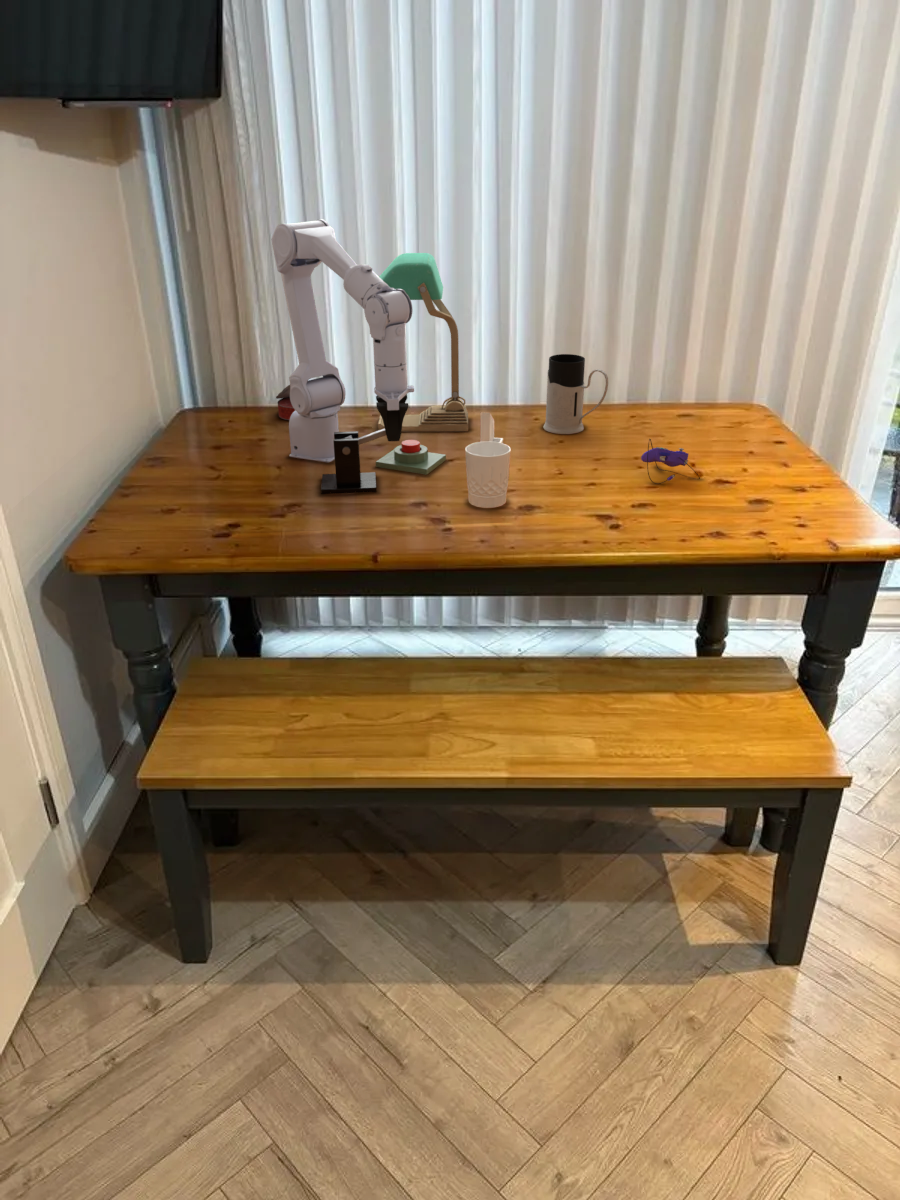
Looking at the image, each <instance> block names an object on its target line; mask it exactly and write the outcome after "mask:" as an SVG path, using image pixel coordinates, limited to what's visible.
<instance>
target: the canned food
mask: <svg viewBox="0 0 900 1200" xmlns="http://www.w3.org/2000/svg"><path fill="white" fill-rule="evenodd" d="M275 399H276V400H277V399H278V401H277V402H276V403H277V410H278V411H277V412H278V417H279V418H280V419H282V420H285V421H290V417H291V415H292V413H293V412H294V411H295V409H294V408H293V406H292V404H291V401H290V384H288V385H286V387H285V388H283V389H282V391H280V392H279V393H277V395H276V396H275Z"/></svg>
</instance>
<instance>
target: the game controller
mask: <svg viewBox="0 0 900 1200" xmlns="http://www.w3.org/2000/svg"><path fill="white" fill-rule="evenodd" d="M648 442H650V443H647V446H648V447H647V451H645V452H643V453H642V455H641V456H640V460H641V461H642V463H646V468H647V470H649V463H655V466H656V468H657V469H658V470H659V471H664V472H670V473H675V474H678V475H679V476H680V475H681V476H683V477H686V478H690V479H691V477H690V476H687V475H684V474H681V473H678V472H675V471H671V470H667V469H660V468H659V467H658V464H657V463H662V464H664V465H666V466H667V467H670V468H674V467H678V466H683V467H685V466H686V465H687V466H688V467H689V468H690V469H691V470H692V471H693V472H694V473H695V474H696V475H697V477H698V480H700V479H701V478H700V475H699V474H698V473H697V471H696V470H694V468H693V467H692V466H690V465H689V464H688V462H689V460H688V458H689V453H688V452H686V451H684V450H685V449H684V448H683V447H679V448H678V450H676V451H674V450H670V449H669V448H665V447H660V446H659V447H658V446H656V447H653V444H652V439H651V438H649V439H648ZM650 445H651V449H649V448H650ZM675 474H673V475H670V476H669V477H667V479H666V480H664V481H662V482H658V483H656V482H654V481H653V480H652V479H651V477H650V472H649V471H647V475H648V478H649V480H650V482H651V483H653V484H655V485H660V484H664V483H666V482H670V481H672V480H673V479H674V478H675V477H676V475H675ZM693 479H694V480H695V478H694V477H692V480H693Z"/></svg>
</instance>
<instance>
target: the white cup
mask: <svg viewBox="0 0 900 1200" xmlns="http://www.w3.org/2000/svg"><path fill="white" fill-rule="evenodd" d="M511 449H512V447H510V446H509V445H508V444H506V443H504V442H503V443H499V442H491V441H484V442H480V441H476V442H472V443H470V444H468V445H466V446H465V448H464V450H465V451H464V452H465V454H464V455H465V472H466V474H465V475H466V486H467V497H468V498H467V500H468V503H469V504H470V505H471V506H474V507H477V508H483V509H492V508H497V507H502V506H504V505H505V504H506V503H507V496H508V495H507V493H508V489H509V481H510V465H511V453H512V450H511Z"/></svg>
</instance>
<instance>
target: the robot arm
mask: <svg viewBox="0 0 900 1200" xmlns="http://www.w3.org/2000/svg"><path fill="white" fill-rule="evenodd" d="M271 246H272V250H273V254H274V259H275V265H276V269H277V272H278V273H280V275H281V281H282V286H283V290H284V296H285V300H286V305H287V311H288V315H289V321H290V324H291V325H290V326H291V331H292V335H293V340H294V345H295V350H296V354H297V359H298V365H297V367H295V369H294V370H293V371H292V372H291V374H290V376H289V377H288V380H289V385H290V401H291V404H292V406H293V408H294V409H295V411H294V412H293V413H292V415H291V417H290V420H288V433H289V443H290V444H289V445H290V454H289V457H290V458H297V459H301V460H303V459H304V460H309V461H316V462H322V463H332V462H333V461H335V456H334V442H333V441H334V432H340V430H339V429H340V427H339V414H338V413H339V412H340V411H341V406H343V405H344V403H345V401H346V387H345V384H344V381H342V379H341V376H340V371H339V368H338V367H337V366H336V365H334V364H333V363H331V362H329V361H328V360H327V357H326V352H325V347H324V343H323V337H322V332H321V326H320V321H319V316H318V312H317V305H316V300H315V295H314V290H313V284H312V279H311V275H312V273H313V272H314V270H315V268H317V267H319V265H320V264H322V263H323V264H324V265H325V266H326V267H328V269H330V270H331V271H333V272H334V274H336V275H337V276H338V277H340V279H342V280H343V289H344V291H345V292H346V293H348V295H349V296H350V297H351V298H352V299H353V300H355V302H356V303H357V304H358V305H359V306H360V307H361V308H362V309H363V312H364V313H363V314H364V317H365V320H366V322H367V324H368V327H369V335H370V338H372V343H373V347H372V348H373V365H374V367H373V369H374V385H375V386H374V389H373V390H374V391H373V392H374V394H375V395H376V396H375V400H376V401H377V402H376V409H377V411H378V412H379V414H380V415H381V417H382V419H383V422H384V427H385V432H386V439H387V441H388V442H400V440H401V436H402V432H401V430H402V423H403V419H404V416H405V415H406V414H407V411H408V410H409V405H410V404H409V402H407V400H408V394H409V393H414V392H415V386H414V385H408V358H407V355H408V354H407V325H406V324H408V323H409V322H410V321H411V319H412V317H413V312H414V311H413V303H412V300H410V298H409V296H408V295H407V294H406V292H405V291H404V290H403V289H394V288H390V287H389V286H388V285H387V284H386V283H385V282H384V281H383V280H382V279H381V278H380V277H379V276H380V275H378V274H377V273H376V272H375V271H374V270H373V267H372V266H371V265H369V264H365V263H363V264H362V263H361V264H357V263H356V261H354V259H353V258H352V257H351V256H350V255H349V253H348V252H347V251H346V250H345V248H343V246H342V245H341V243H339V242H338V240H337V237H336V232H335V228H334V227H332V226H330V224H329V223H328V221H327V220H325V219H322V218H319V219H316V220H310V221H301V222H291V223H285V222H284V223H279V224H278V225H276V227H275V229H274V231H273V234H272V237H271ZM380 415H379V416H380Z"/></svg>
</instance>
